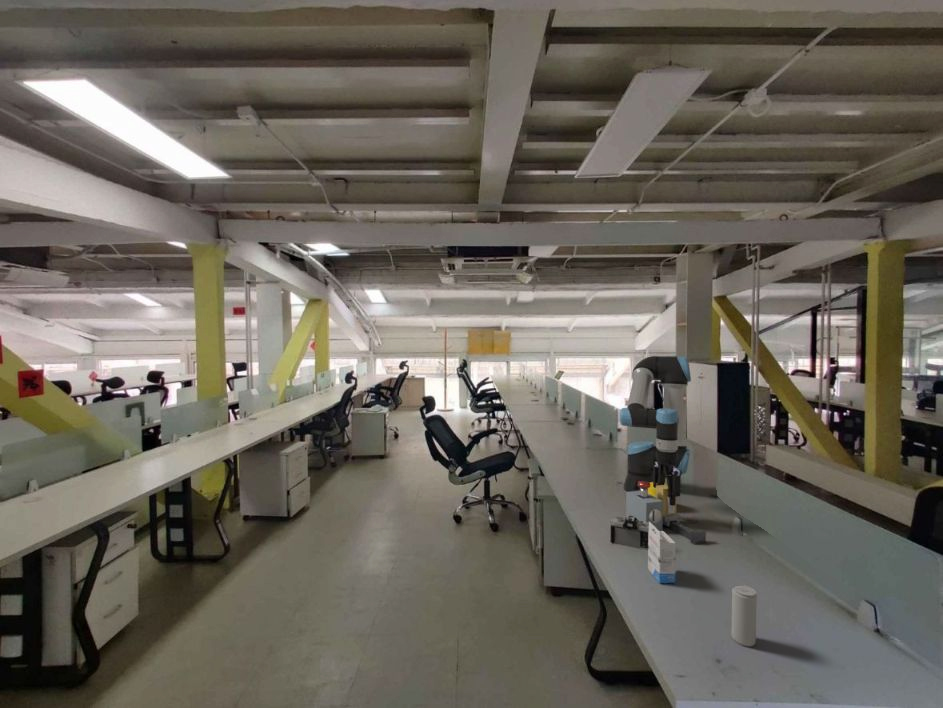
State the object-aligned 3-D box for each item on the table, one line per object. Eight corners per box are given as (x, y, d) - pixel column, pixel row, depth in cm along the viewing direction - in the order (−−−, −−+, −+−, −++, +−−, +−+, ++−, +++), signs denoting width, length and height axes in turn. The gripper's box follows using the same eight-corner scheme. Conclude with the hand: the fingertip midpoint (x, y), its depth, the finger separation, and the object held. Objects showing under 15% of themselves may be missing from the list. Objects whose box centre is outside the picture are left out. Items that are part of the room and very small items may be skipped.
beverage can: (726, 634, 103) (727, 584, 103) (745, 633, 103) (746, 583, 103) (740, 648, 98) (741, 596, 98) (760, 647, 98) (761, 595, 98)
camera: (658, 542, 150) (659, 514, 150) (656, 553, 142) (657, 523, 142) (612, 533, 157) (612, 506, 157) (607, 543, 149) (608, 515, 149)
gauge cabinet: (641, 518, 171) (641, 490, 171) (664, 531, 159) (664, 502, 158) (625, 519, 169) (626, 492, 169) (647, 534, 157) (647, 503, 157)
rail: (660, 516, 172) (660, 506, 172) (705, 542, 150) (705, 531, 150) (649, 518, 171) (649, 508, 171) (693, 544, 149) (694, 532, 149)
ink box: (676, 583, 125) (677, 532, 124) (659, 583, 125) (659, 532, 124) (663, 568, 133) (663, 520, 133) (647, 568, 133) (647, 520, 133)
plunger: (645, 500, 167) (645, 480, 167) (652, 504, 163) (652, 484, 163) (635, 501, 166) (635, 481, 166) (642, 505, 162) (642, 485, 161)
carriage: (666, 516, 171) (666, 482, 170) (681, 524, 163) (681, 489, 162) (651, 518, 169) (651, 484, 168) (665, 526, 161) (665, 490, 161)
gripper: (643, 445, 173) (642, 503, 173) (674, 456, 156) (674, 520, 156) (659, 444, 175) (658, 501, 175) (692, 454, 158) (691, 518, 158)
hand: (665, 510), depth 166 cm, fingers open, 4 cm apart
